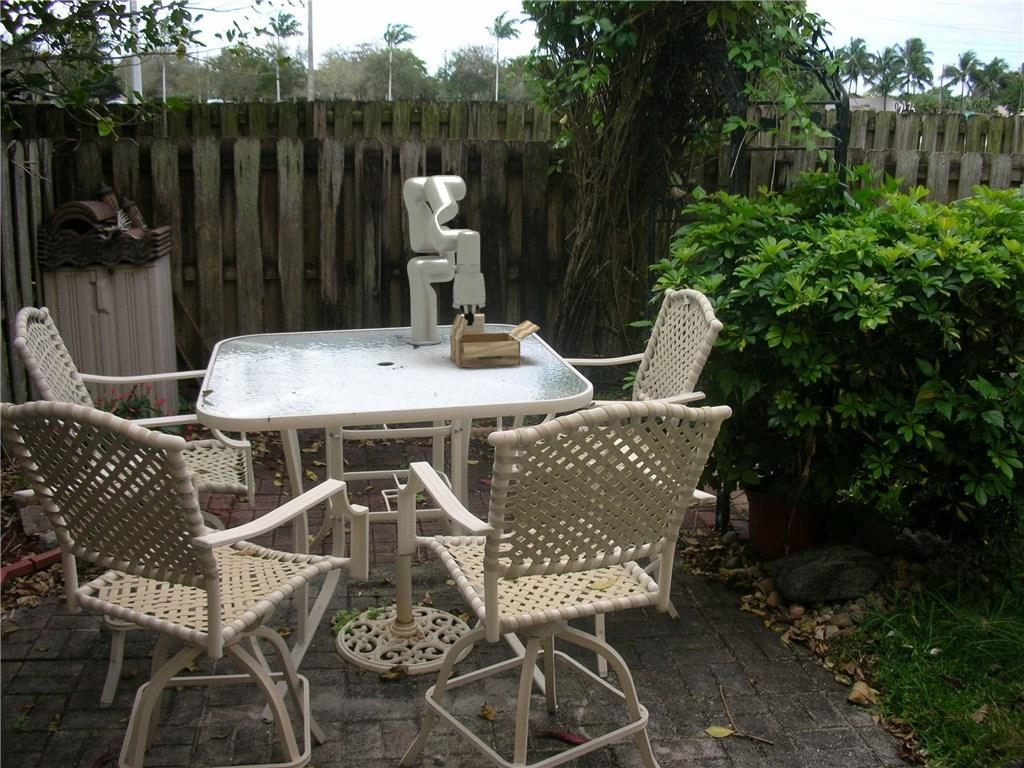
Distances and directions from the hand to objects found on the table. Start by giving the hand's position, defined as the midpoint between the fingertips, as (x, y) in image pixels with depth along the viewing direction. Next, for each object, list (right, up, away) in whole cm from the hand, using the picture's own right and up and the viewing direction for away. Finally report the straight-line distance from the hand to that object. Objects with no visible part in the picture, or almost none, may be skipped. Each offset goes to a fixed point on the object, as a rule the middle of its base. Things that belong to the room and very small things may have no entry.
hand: (469, 325), depth 318 cm
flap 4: (+15, -3, +4) cm, 16 cm away
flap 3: (+7, -6, -6) cm, 11 cm away
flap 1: (-5, -4, 0) cm, 7 cm away
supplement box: (0, -8, +23) cm, 24 cm away
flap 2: (+3, -2, +10) cm, 11 cm away
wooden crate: (+5, -12, +4) cm, 14 cm away
